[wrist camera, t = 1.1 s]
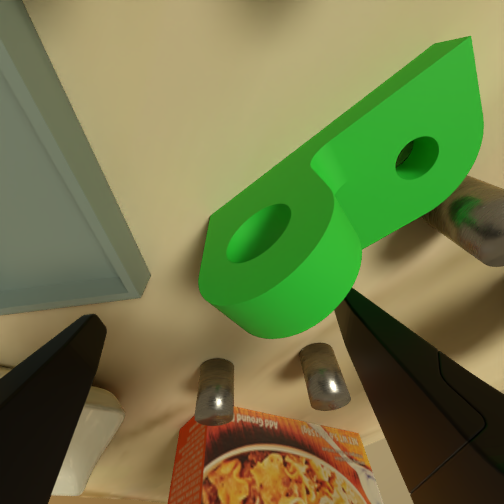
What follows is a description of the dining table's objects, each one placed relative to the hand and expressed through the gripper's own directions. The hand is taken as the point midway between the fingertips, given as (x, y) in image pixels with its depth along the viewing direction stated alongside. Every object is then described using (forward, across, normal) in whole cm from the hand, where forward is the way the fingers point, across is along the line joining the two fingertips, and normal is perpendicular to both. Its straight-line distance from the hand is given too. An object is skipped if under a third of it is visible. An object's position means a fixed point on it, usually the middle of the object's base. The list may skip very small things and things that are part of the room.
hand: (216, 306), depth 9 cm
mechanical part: (+6, -6, -2) cm, 9 cm away
